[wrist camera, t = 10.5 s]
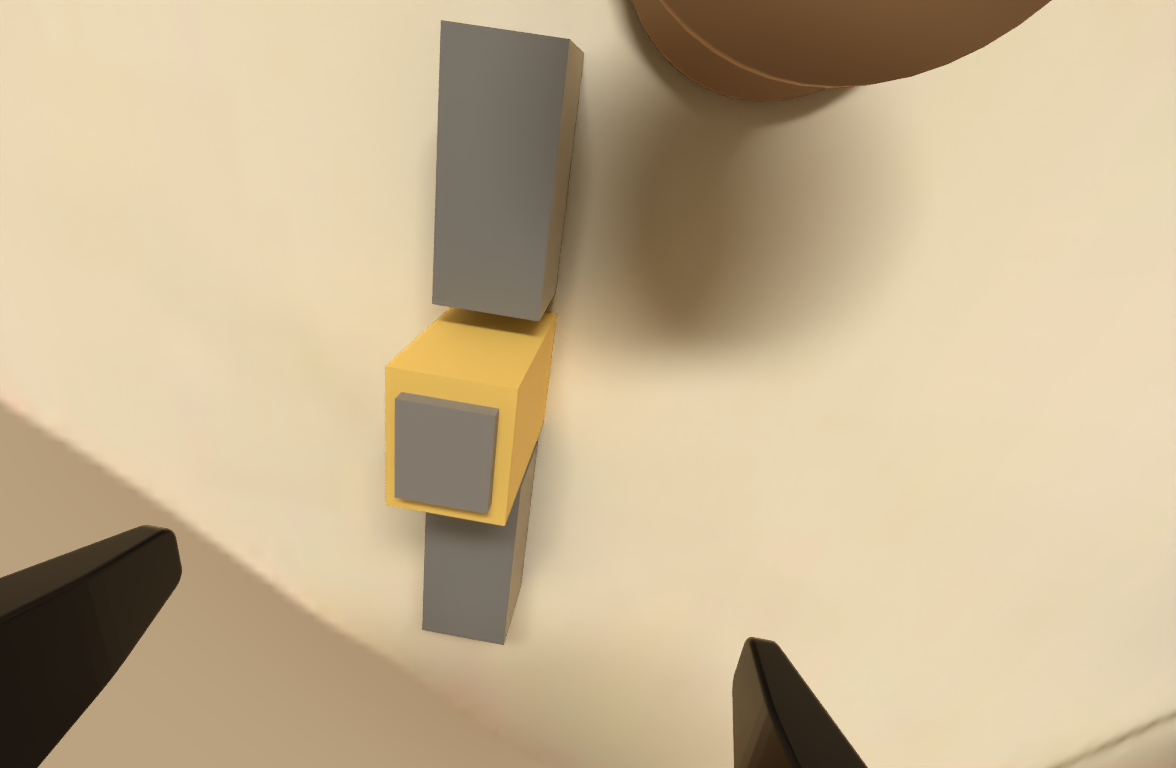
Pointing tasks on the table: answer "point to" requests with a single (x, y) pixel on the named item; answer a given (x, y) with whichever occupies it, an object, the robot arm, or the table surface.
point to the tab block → (466, 413)
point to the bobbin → (820, 40)
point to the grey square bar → (496, 266)
